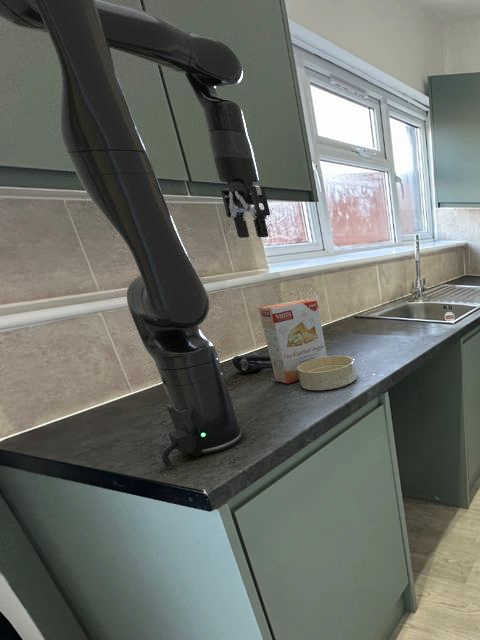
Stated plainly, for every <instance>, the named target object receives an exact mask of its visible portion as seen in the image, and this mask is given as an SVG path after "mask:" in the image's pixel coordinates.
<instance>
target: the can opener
mask: <svg viewBox="0 0 480 640" xmlns="http://www.w3.org/2000/svg"><path fill="white" fill-rule="evenodd" d="M232 365H233V366H234V368H235V369H236V370H238V371H239V372H240V373H242V374H251V373H253V372H256V371H258V370H262V369H269V370H270V369H271V370H273V367H272V363H271V359H270V355H269V354H258V353H257V352H254V353H253V354H243V355H242V354H241V355H235V356H233V358H232Z"/></svg>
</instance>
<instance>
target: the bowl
mask: <svg viewBox="0 0 480 640" xmlns="http://www.w3.org/2000/svg"><path fill="white" fill-rule="evenodd" d="M297 372H298V376H299V380H298V381H299V384H300V387H301V388H302V389H304V390H307V391H329V390H330V391H331V390H335V389H339V388H343V387H345V386H347V385H349V384H351V383H353V382H354V381H356V380H357V378H358V375H357V369H356V364H355V358H353V357H352V356H348V355H327V356H326V357H320V358H315V359H311V360H308V361H306V362H303V363H301V364H300V365H298V367H297Z"/></svg>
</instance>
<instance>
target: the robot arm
mask: <svg viewBox="0 0 480 640" xmlns="http://www.w3.org/2000/svg"><path fill="white" fill-rule="evenodd" d="M0 18H1V19H3V20H5V21H6V22H9V23H11V24H13V25H14V26H17V27H19V28H23V29H27V30H30V31H36V32H41V33H45V34H48V36H49V39H50V42H51V44H52V46H53V49H54V52H55V54H56V57H57V61H58V64H59V69H60V79H61V83H60V84H61V89H60V90H61V91H60V101H59V102H60V103H59V131H60V133H59V134H60V137H61V141H62V145H63V146H64V149H65V151H66V153H67V156H68V158H69V160H70V163H71V165H72V167H73V170H74V172H75V173H76V176H77V178H78V180H79V181H80V184H81V185H82V187H83V189H84V190H85V192H86V194H87V195H88V197H89V198H90V200H91V201H92V202H93V203H94V205H95V206H96V208H97V209H98V210H99V211H100V213H102V215H103V217H105V219H106V220H107V221H108V222H109V223H110V224H111V226H112V227H113V228H114V229H115V230H116V231H117V233H118V234H119V235H120V237H121V238H122V239H123V241H124V243H125V244H126V245H127V247H128V249H129V251H130V252H131V255H132V257H133V259H134V261H135V264H136V266H137V269H138V272H139V274H140V275H138V276H137V277H135V278H134V279H133V280H132V281H131V282H130V283H129V284H128V287H127V289H126V302H127V303H126V304H127V307H128V310H129V312H130V316H131V318H132V320H133V323H134V325H135V328H136V330H137V333H138V335H139V338H140V340H141V342H142V344H143V347H144V348H145V350H146V352H147V353H148V354H149V356H150V357H151V358H152V359H153V361H154V363H155V366H156V369H157V371H158V374H159V376H160V379H161V382H162V385H163V388H164V390H165V393H166V397H167V399H168V402H169V404H167V405H166V407H167V410H168V413H169V416H170V418H171V421H172V425H173V427H174V429H175V430H174V431H172V432H168V436H169V440H170V442H171V444H170V445H169V446H168V447H167V448H166V449H165V450H164V451H163V453H162V456H161V460H162V462H163V464H164V465H165V467H166V468H170V467H172V466H173V467H174V465H173V464H172V462H171V461H170V458H169V456H170V454H171V452H172V451H174V450H177V451H178V452H180V453H181V454H185V453H187V454H190V455H191V456H193V457H195V458H198V457H201V456H203V455H208V454H213V453H214V454H215V453H217V452H221V451H224V450H226V449H229V448H231V447H233V446H234V445H237V444H238V443H239V442H241V440H242V438H243V433H242V430H241V428H240V425H239V422H238V418H237V414H236V412H235V408H234V405H233V401H232V398H231V395H230V392H229V389H228V384H227V381H226V378H225V376H224V373H223V368H222V365H221V361H220V359H219V356H218V355H219V354H218V351H217V349H216V346H215V344H214V343H213V342H212V341H211V340H210V339H209V338H207V337H206V336H205V335H204V333H203V332H202V330H201V329H200V327H199V325H200V324H202V323H203V322H204V321H205V320H206V319H207V317H208V314H209V313H210V312H209V311H210V299H209V294H208V292H207V290H206V287H205V286H204V283H203V282H202V280H201V277H200V276H199V273H198V272H197V270H196V268H195V266H194V264H193V262H192V259H190V257H189V254H188V252H187V250H186V249H185V246H184V244H183V241H182V240H181V238H180V235H179V233H178V230H177V227H176V225H175V222H174V219H173V217H172V214H171V211H170V209H169V206H168V204H167V202H166V199H165V196H164V194H163V191H162V189H161V186H160V183H159V179H158V176H157V174H156V172H155V169H154V166H153V165H152V161H151V159H150V157H149V156H150V155H149V153H148V152H147V149H146V147H145V144H144V141H143V140H142V137H141V135H140V133H139V130H138V127H137V125H136V123H135V120H134V117H133V115H132V111H131V109H130V106H129V103H128V101H127V98H126V95H125V93H124V90H123V87H122V83H121V81H120V77H119V75H118V71H117V69H116V65H115V61H114V59H113V55H112V51H111V49H112V50H115V51H118V52H122V53H125V54H128V55H130V56H133V57H136V58H140V59H142V60H145V61H148V62H150V63H153V64H155V65H158V66H160V67H163V68H165V69H168V70H171V71H173V72H177V73H180V74H183V75H184V76H185V78H186V80H187V82H188V84H189V85H190V88H191V89H192V92H193V94H194V96H195V98H196V99H197V102H198V103H199V105H200V107H201V109H202V113H203V116H204V122H205V124H206V128H207V132H208V138H209V146H210V149H211V152H212V153H211V154H212V157H213V161H214V166H215V169H216V173H217V177H218V179H219V181H220V182H222V183H226V184H227V188H221V189H220V192H221V196H222V197H221V198H222V200H223V206H224V209H225V214H226V217H227V218H231V220H232V221H233V222H234V227H235V231H236V234H237V237H238V238H240V239H243V238H244V239H245V238H249V237H250V233H249V229H248V225H247V221H246V220H245V218H246V214H247V213H248V212H249V214H250V215H251V217H252V218H253V224H254V229H255V233H256V236H257V237H258V238H268V237H269V236H270V235H269V230H268V227H267V222H266V219H267V216H270V215H271V210H270V207H269V203H268V199H267V194H266V191H265V188H264V185H258V184H257V185H255V184H256V183H258V182H259V181H260V178H259V174H258V173H259V172H258V168H257V165H256V161H255V155H254V151H253V147H252V145H251V142H250V138H249V136H248V131H247V127H246V121H245V117H244V113H243V109H242V108H241V106H240V104H239V103H237V101H234V100H232V99H228V98H223V97H221V96H220V94H219V92H218V90H217V87H218V88H219V87H232V86H236V85H238V84H239V83H240V82H241V81H242V79H243V76H244V69H243V65H242V62H241V60H240V57H238V55H237V54H236V52H235V51H234V50H233V49H232V48H231V47H230V46H229V45H228V44H226V43H225V42H223V41H221V40H219V39H217V38H213V37H212V36H208V35H204V34H200V33H199V32H198V33H197V32H194V31H189V30H185V29H182V28H180V27H179V26H177V25H175V24H173V23H171V22H169V21H167V20H165V19H163V18H161V17H159V16H157V15H155V14H153V13H150V12H148V11H145V10H142V9H138V8H136V7H132V6H128V5H125V4H120V3H117V2H112V1H108V0H0Z"/></svg>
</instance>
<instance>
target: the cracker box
mask: <svg viewBox="0 0 480 640" xmlns="http://www.w3.org/2000/svg"><path fill="white" fill-rule="evenodd" d="M258 313H259V316H260V319H261V320H260V321H261V324H262V329H263V334H264V338H265V342H266V347H267V350H268V355H270V359H271V361H270V363H272V367H273V369H272V372H273V375H274V381H275V382H279V383H283V384H287V385H290V384H293V383H295V382H296V381H300V380H299V376H298V372H297V367H298V365H300V364H301V363H303V362H306V361H308V360H311V359H315V358H320V357H326V356H328V353H327V348H326V342H325V338H324V332H323V326H322V321H321V315H320V310H319V304H318V300H315V299H307V298H306V299H304V298H303V299H298V300H293V301H286V302H282V303H281V302H280V303H276V304H269V305H266V306H265V305H264V306H259V307H258Z"/></svg>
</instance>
